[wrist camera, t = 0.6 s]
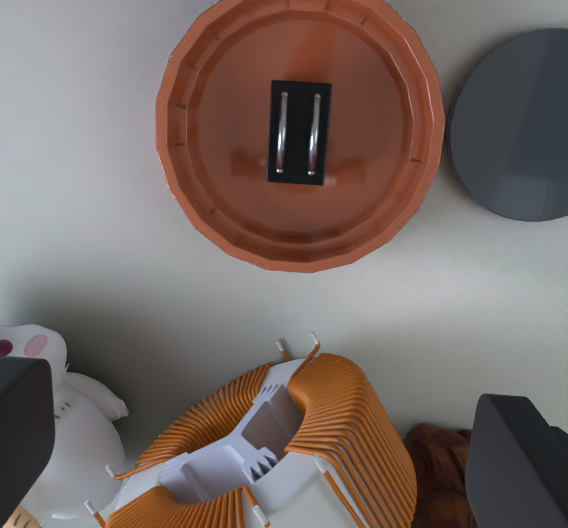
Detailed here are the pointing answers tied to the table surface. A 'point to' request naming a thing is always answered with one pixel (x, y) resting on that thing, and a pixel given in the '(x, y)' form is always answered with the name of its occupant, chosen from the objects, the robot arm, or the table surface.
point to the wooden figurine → (440, 477)
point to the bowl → (341, 138)
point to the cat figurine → (69, 435)
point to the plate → (515, 128)
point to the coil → (275, 456)
